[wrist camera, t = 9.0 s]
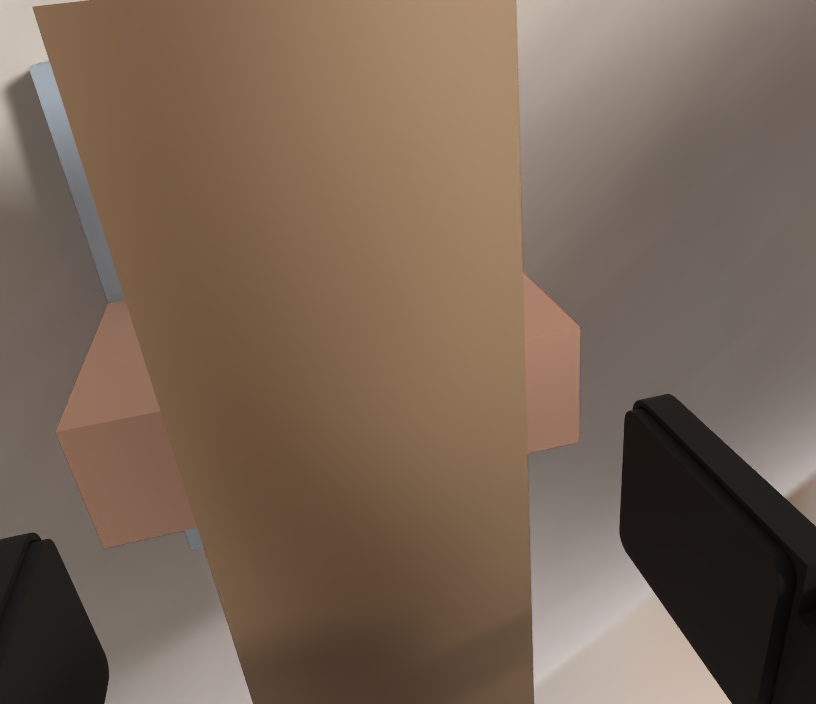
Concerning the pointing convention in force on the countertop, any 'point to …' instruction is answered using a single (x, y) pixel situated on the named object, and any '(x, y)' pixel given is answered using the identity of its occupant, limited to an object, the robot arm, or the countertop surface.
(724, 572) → the robot arm
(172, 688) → the countertop surface
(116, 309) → the fulcrum stand
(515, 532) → the walnut bar
